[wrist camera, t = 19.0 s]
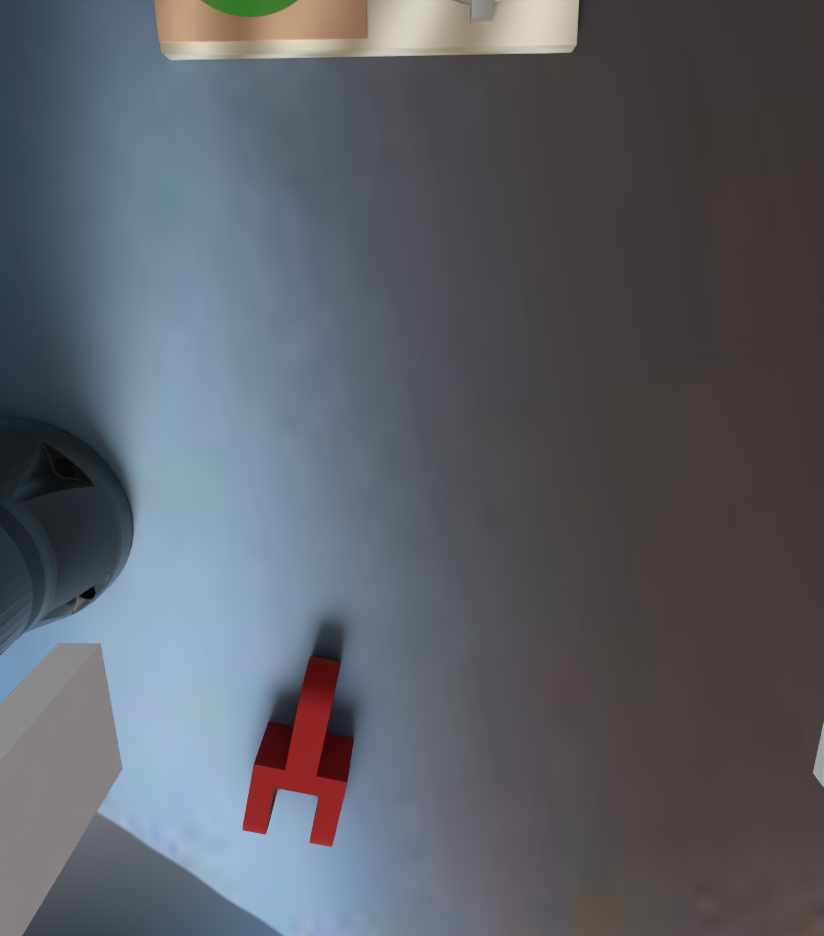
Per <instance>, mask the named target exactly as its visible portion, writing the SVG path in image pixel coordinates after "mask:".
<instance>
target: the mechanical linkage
mask: <svg viewBox="0 0 824 936" xmlns="http://www.w3.org/2000/svg"><path fill="white" fill-rule="evenodd" d="M340 664H341V662H339V661H334V660H329V659H324V658H319V657H314V656H310V659H309V662H308V666H307V670H306V673H305V677H304V681H303V686H302V690H301V694H300V699H299V703H298V708H297V713H296V718H295V723H294V727H291V726H286V725H281V724H276V723H271V722H268V725H267V728H266V731H265V733H264V736H263V739H262V742H261V745H260V748H259V751H258V754H257V757H256V760H255V763H254V767H253V772H252V778H251V783H250V789H249V794H248V800H247V806H246V811H245V817H244V822H243V830H245V831H250V832H255V833H261V834H266V832H267V829H268V825H269V822H270V818H271V814H272V810H273V806H274V802H275V798H276V794H277V789H278V788H279V789H284V790H289V791H295V792H300V793H305V794H310V795H315V796H319V799H318V803H317V808H316V813H315V818H314V822H313V827H312V832H311V837H310V843H314V844H319V845H324V846H330V847H332V845H333V841H334V837H335V832H336V828H337V824H338V820H339V815H340V811H341V807H342V803H343V798H344V794H345V790H346V786H347V781H348V774H349V768H350V761H351V754H352V748H353V741H354V739H352V738H347V737H342V736H337V735H332V734H327V733H326V729H327V725H328V720H329V715H330V711H331V706H332V702H333V697H334V692H335V688H336V683H337V678H338V674H339V669H340Z"/></svg>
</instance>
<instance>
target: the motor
mask: <svg viewBox="0 0 824 936" xmlns="http://www.w3.org/2000/svg"><path fill="white" fill-rule="evenodd" d="M201 1H203V2H204V3H206V4H207V5H209V6H211V7H213V8H214V9H217V10H219V11H221V12H224V13H227V14H231V15H235V16H241V17H259V16H265V15H270V14H273V13H276V12H278V11H281V10H283V9H285V8H287V7H289V6H290V5H292V4H293V3H295V2H296V1H298V0H201Z"/></svg>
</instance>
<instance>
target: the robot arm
mask: <svg viewBox="0 0 824 936" xmlns="http://www.w3.org/2000/svg"><path fill="white" fill-rule="evenodd" d="M132 532H133V531H132V517H131V512H130V508H129V504H128V501H127V498H126V496H125V493H124V491H123V489H122V487H121V485H120V483H119V481H118V480H117V478H116V476H115V475H114V473H113V472H112V470H111V469H110V468H109V467H108V465H107V464H106V463H105V462H104V461H103V460H102V458H101V457H100V456H99V455H98V454H97V453H96V452H94V451H93V450H92V449H91V448H90V447H89V446H87V445H86V444H85V443H83V442H82V441H81V440H79V439H78V438H76V437H74V436H73V435H71V434H69V433H67V432H65V431H63V430H61V429H59V428H57V427H54V426H52V425H49V424H46V423H42V422H38V421H34V420H28V419H20V418H2V419H0V655H1V654H2V653H3V652H4V651H5V650H6V649H7V648H8V647H9V646H10V645H11V644H12V643H13V642H14V641H15V640H16V639H18V638H19V637H20V636H21V635H22V634H23V633H25V632H27V631H30V630H33V629H35V628H38V627H41V626H44V625H46V624H49V623H52V622H54V621H57V620H60V619H62V618H65V617H68V616H70V615H73V614H75V613H77V612H78V611H80V610H82V609H84V608H85V607H87V606H88V605H90V604H91V603H92V602H94V601H95V600H96V599H97V598H98V597H99V596H100V595H101V594H102V593H103V592H104V591H105V590H106V589H107V588H108V587H109V586H110V585H111V584H112V583H113V582H114V581H115V580H116V578H117V577H118V576H119V574H120V573H121V571H122V569H123V568H124V566H125V564H126V561H127V559H128V556H129V553H130V549H131V543H132ZM121 770H122V764H121V758H120V752H119V747H118V741H117V735H116V729H115V724H114V718H113V712H112V707H111V701H110V695H109V690H108V684H107V678H106V672H105V667H104V661H103V655H102V650H101V644H58V645H57V646H56V647H55V648H54V649H53V650H52V651H51V652H50V653H49V654H48V655H47V656H46V657H45V658H44V659H43V660H42V661H41V662H40V663H39V664H38V665H37V666H36V667H35V668H34V669H33V670H32V671H31V672H30V674H29V675H28V676H27V677H26V678H25V679H24V680H23V681H22V682H21V683H20V684H19V685H18V686H17V687H16V688H15V689H14V690H13V691H12V692H11V693H10V694H9V695H8V696H7V697H6V698H5V699H4V700H3V701H2V703H1V704H0V936H22V935H23V933H24V932H25V930H26V928H27V927H28V925H29V923H30V922H31V920H32V918H33V917H34V915H35V913H36V911H37V910H38V908H39V907H40V905H41V903H42V902H43V900H44V898H45V897H46V895H47V893H48V892H49V890H50V888H51V887H52V885H53V883H54V882H55V880H56V878H57V876H58V875H59V873H60V872H61V870H62V868H63V867H64V865H65V863H66V862H67V860H68V858H69V857H70V855H71V853H72V852H73V850H74V848H75V847H76V845H77V843H78V842H79V840H80V838H81V837H82V835H83V833H84V832H85V830H86V828H87V827H88V825H89V823H90V822H91V820H92V818H93V817H94V815H95V813H96V812H97V810H98V808H99V807H100V805H101V803H102V802H103V800H104V798H105V797H106V795H107V793H108V792H109V790H110V788H111V787H112V785H113V783H114V782H115V780H116V778H117V777H118V775H119V773H120V772H121ZM813 774H814V775H815V776H816V778H817V779H818V780H819V782H820V783H821V784H822V786H823V787H824V724H823V728H822V733H821V738H820V742H819V747H818V752H817V757H816V761H815V766H814V771H813Z"/></svg>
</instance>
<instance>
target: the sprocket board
mask: <svg viewBox="0 0 824 936" xmlns="http://www.w3.org/2000/svg"><path fill="white" fill-rule="evenodd" d="M154 3H155V12H156V21H157V30H158V39H159V42H160V46H161V53H162V54H164V55H165V56H166V57H167V58H169V59H170V60H209V59H262V58H314V57H367V56H420V55H472V54H525V53H571V52H572V51H573V49H574V48H575V46H576V45H577V28H578V10H579V0H298V1H296V2H295V3H293V4H292V5H290V6H289V7H287V8H285V9H283V10H281V11H278V12H276V13H273V14H270V15H265V16H259V17H241V16H235V15H231V14H227V13H224V12H221V11H219V10H217V9H214V8H213V7H211V6H209V5H207V4H206V3H204V2H203V1H201V0H154Z"/></svg>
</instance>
